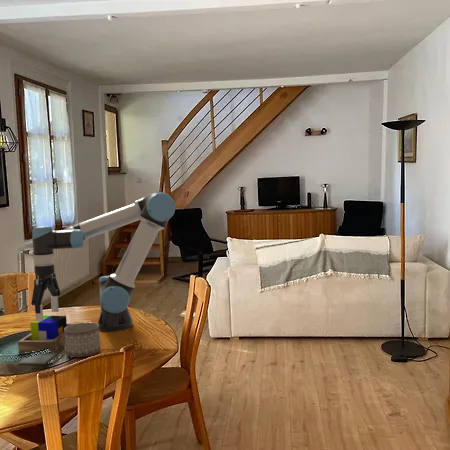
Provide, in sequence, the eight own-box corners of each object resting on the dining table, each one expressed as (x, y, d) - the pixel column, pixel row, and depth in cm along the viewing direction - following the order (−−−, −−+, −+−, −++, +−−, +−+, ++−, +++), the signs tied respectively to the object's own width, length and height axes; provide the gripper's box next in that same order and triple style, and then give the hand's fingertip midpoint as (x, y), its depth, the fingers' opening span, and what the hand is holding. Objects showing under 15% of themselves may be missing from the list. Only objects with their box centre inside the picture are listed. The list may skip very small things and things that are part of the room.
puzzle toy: (55, 347, 199) (53, 323, 198) (32, 346, 201) (30, 322, 200) (67, 339, 209) (66, 315, 208) (45, 338, 211) (44, 315, 210)
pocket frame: (46, 333, 217) (46, 323, 217) (78, 333, 215) (78, 323, 215) (18, 352, 194) (17, 341, 194) (54, 353, 192) (53, 341, 192)
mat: (57, 354, 191) (57, 352, 191) (44, 364, 181) (44, 362, 181) (32, 354, 192) (32, 352, 192) (18, 364, 182) (18, 362, 182)
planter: (68, 362, 182) (66, 334, 181) (64, 351, 194) (62, 325, 193) (103, 355, 187) (101, 328, 186) (97, 345, 199) (95, 320, 198)
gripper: (49, 259, 214) (52, 308, 216) (19, 270, 190) (23, 325, 192) (66, 259, 213) (69, 308, 215) (38, 270, 189) (41, 325, 191)
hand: (47, 316), depth 203 cm, fingers open, 13 cm apart
